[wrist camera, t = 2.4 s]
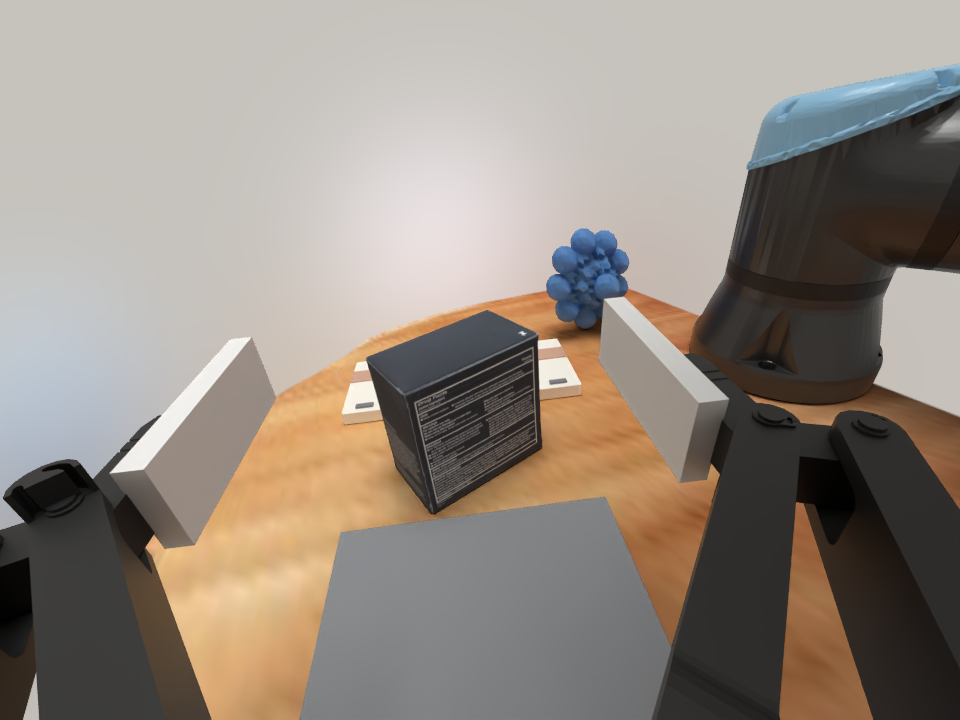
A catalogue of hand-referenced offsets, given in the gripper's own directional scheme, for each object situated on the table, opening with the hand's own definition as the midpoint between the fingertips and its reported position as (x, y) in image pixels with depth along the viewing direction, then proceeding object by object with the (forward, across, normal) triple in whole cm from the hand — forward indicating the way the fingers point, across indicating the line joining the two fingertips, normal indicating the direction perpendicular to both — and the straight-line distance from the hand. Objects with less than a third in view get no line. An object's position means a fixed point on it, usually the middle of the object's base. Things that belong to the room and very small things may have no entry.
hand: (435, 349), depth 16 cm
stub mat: (-2, +1, -16) cm, 16 cm away
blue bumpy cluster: (+29, +17, -16) cm, 37 cm away
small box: (+11, +1, -16) cm, 20 cm away
